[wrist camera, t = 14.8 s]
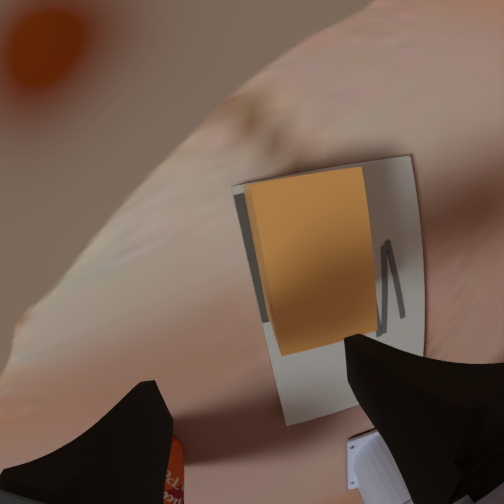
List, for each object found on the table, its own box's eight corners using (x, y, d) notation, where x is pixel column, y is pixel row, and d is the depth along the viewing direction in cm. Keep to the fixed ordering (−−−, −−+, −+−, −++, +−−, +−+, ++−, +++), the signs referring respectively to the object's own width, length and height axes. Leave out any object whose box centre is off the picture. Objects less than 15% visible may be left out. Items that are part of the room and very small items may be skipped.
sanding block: (343, 298, 19) (377, 330, 14) (267, 316, 19) (281, 356, 14) (326, 172, 18) (361, 166, 13) (242, 186, 17) (250, 183, 12)
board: (415, 373, 22) (421, 379, 21) (284, 418, 22) (286, 427, 21) (402, 156, 19) (410, 155, 18) (231, 187, 18) (231, 186, 17)
